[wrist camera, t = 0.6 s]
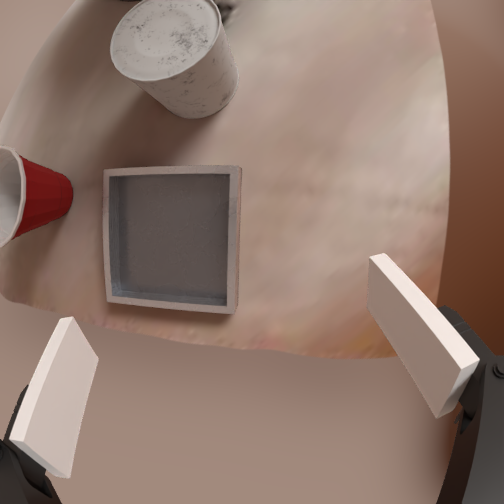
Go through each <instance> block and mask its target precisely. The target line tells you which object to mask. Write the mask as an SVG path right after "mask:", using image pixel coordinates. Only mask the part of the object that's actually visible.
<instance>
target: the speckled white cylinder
mask: <svg viewBox="0 0 504 504" xmlns="http://www.w3.org/2000/svg"><path fill="white" fill-rule="evenodd" d="M110 55H111V60H112V62H113V64H114V66H115V68H116V69H117V70H118V71H119V72H120V73H121V74H122V75H123V76H125V77H127V78H129V79H130V80H132V81H133V82H134V83H136V84H137V85H138V86H139V87H141V88H142V89H143V90H145V91H146V92H147V93H148V94H150V95H151V96H152V97H153V98H155V99H156V100H157V101H159V102H160V103H161V104H162V105H164V106H165V107H166V108H167V109H168V110H169V111H170V112H171V113H173V114H175V115H177V116H180V117H183V118H191V119H196V118H203V117H206V116H209V115H212V114H214V113H216V112H217V111H219V110H221V109H222V108H223V107H224V106H225V105H226V104H228V103H229V101H230V100H231V99H232V97H233V96H234V94H235V92H236V90H237V87H238V82H239V72H238V68H237V65H236V63H235V61H234V58H233V55H232V52H231V49H230V46H229V42H228V39H227V36H226V33H225V30H224V27H223V24H222V21H221V15H220V12H219V10H218V7H217V5H216V4H215V3H214V2H213V1H212V0H143V1H141V2H139V3H138V4H136V5H135V6H134V7H133V8H132V9H130V10H129V11H128V12H127V13H126V14H125V15H124V17H123V18H122V19H121V20H120V22H119V23H118V25H117V27H116V28H115V30H114V33H113V35H112V38H111V43H110Z"/></svg>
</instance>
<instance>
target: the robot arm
mask: <svg viewBox="0 0 504 504" xmlns="http://www.w3.org/2000/svg"><path fill="white" fill-rule="evenodd" d="M122 1H137V0H122ZM367 309H368V310H369V312H370V313H371V315H372V316H373V318H374V319H375V321H376V322H377V324H378V325H379V327H380V328H381V330H382V331H383V333H384V334H385V336H386V338H387V339H388V341H389V342H390V344H391V345H392V347H393V348H394V350H395V352H396V353H397V355H398V356H399V358H400V359H401V361H402V363H403V364H404V366H405V367H406V369H407V371H408V372H409V374H410V376H411V377H412V379H413V380H414V382H415V384H416V385H417V387H418V389H419V390H420V392H421V394H422V395H423V397H424V399H425V400H426V402H427V404H428V406H429V407H430V409H431V411H432V412H433V414H434V416H435V418H436V419H437V418H439V417H441V416H443V415H445V414H447V413H449V412H451V411H453V410H454V408H455V406H456V405H457V403H458V401H459V402H460V403H461V405H462V406H463V407H462V409H461V411H460V412H459V414H458V416H457V417H456V419H455V421H454V423H455V424H456V423H457V422H458V420H459V423H458V428H457V433H456V437H455V442H454V446H453V450H452V454H451V458H450V461H449V465H448V469H447V472H446V475H445V479H444V482H443V485H442V488H441V491H440V494H439V497H438V500H437V503H436V504H504V356H495V355H494V354H493V353H492V352H491V351H490V349H489V348H488V347H487V346H486V345H485V343H484V342H483V341H482V340H481V339H480V338H479V336H478V335H477V334H475V332H474V331H473V330H472V329H471V328H470V326H469V325H468V324H467V323H466V322H464V320H463V318H462V317H461V316H460V315H459V314H458V313H457V312H456V311H454V310H453V309H451V308H449V307H447V306H445V305H444V306H442V307H439V308H436V307H435V306H434V305H433V304H432V302H431V301H430V300H429V299H428V298H427V297H426V296H425V295H424V294H423V293H422V291H421V290H420V289H419V288H418V287H417V286H416V285H415V284H414V283H413V282H412V281H411V280H410V279H409V278H408V277H407V275H406V274H405V273H404V272H403V271H402V270H401V269H400V268H399V267H398V266H397V265H396V264H395V263H394V262H393V261H392V260H391V259H390V258H389V257H388V256H387V255H386V254H385V253H383V254H379V255H375V256H370V257H369V275H368V294H367ZM97 364H98V357H97V356H96V354H95V353H94V351H93V349H92V348H91V346H90V345H89V343H88V341H87V340H86V338H85V336H84V335H83V333H82V331H81V330H80V328H79V326H78V324H77V323H76V321H75V319H74V317H66V318H61V319H60V320H59V322H58V324H57V326H56V328H55V330H54V332H53V334H52V336H51V338H50V340H49V342H48V344H47V346H46V348H45V350H44V353H43V355H42V357H41V359H40V361H39V363H38V366H37V368H36V370H35V372H34V375H33V377H32V380H31V382H30V384H29V385H27V386H26V387H25V389H24V390H23V391H22V392H21V394H20V397H19V399H18V401H17V405H16V406H15V409H14V413H13V414H12V417H11V420H10V422H9V425H8V428H7V431H6V434H5V437H4V440H3V441H2V440H1V439H0V504H62V503H61V501H60V499H59V497H58V495H57V493H56V491H55V489H54V488H53V486H52V484H51V481H50V480H49V478H48V477H47V476H46V475H45V472H46V470H48V471H49V472H50V473H52V474H53V475H54V476H57V477H63V478H70V476H71V470H72V465H73V459H74V454H75V449H76V444H77V440H78V436H79V431H80V427H81V423H82V418H83V414H84V410H85V406H86V402H87V399H88V395H89V391H90V387H91V384H92V380H93V377H94V374H95V370H96V367H97Z"/></svg>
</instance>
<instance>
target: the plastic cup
mask: <svg viewBox="0 0 504 504" xmlns="http://www.w3.org/2000/svg"><path fill="white" fill-rule="evenodd" d="M72 199H73V188H72V185H71V183H70V181H69V180H68V178H67V177H66V176H64V175H63V174H60V173H57V172H54V171H53V170H51V169H49V168H46V167H43V166H41V165H38V164H36V163H33V162H30V161H28V160H27V159H25V158H23V157H22V156H20V155H18V154H17V152H16V151H15V149H13V148H12V147H8V146H5V145H1V146H0V247H3V246H5V245H6V244H7V243H8V242H9V241H10V240H12V239H14V238H15V237H18V236H20V235H21V234H23V233H26V232H28V231H30V230H33V229H35V228H38V227H40V226H43V225H45V224H48V223H49V222H50V221H53V220H55V219H58V218H60V217H61V216H63V215H64V214H65V213H67V211H68V210H69V208H70V206H71V204H72Z"/></svg>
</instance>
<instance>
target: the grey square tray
mask: <svg viewBox="0 0 504 504" xmlns="http://www.w3.org/2000/svg"><path fill="white" fill-rule="evenodd" d="M241 179H242V168H241V167H239V166H223V165H202V166H156V167H134V168H117V169H104V172H103V253H104V272H105V286H106V297H107V302H113V303H121V304H129V305H138V306H147V307H156V308H166V309H176V310H187V311H199V312H211V313H224V314H235V311H236V309H237V306H238V279H239V242H240V209H241Z"/></svg>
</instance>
